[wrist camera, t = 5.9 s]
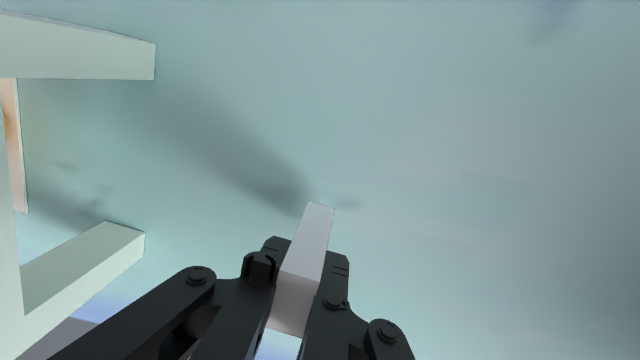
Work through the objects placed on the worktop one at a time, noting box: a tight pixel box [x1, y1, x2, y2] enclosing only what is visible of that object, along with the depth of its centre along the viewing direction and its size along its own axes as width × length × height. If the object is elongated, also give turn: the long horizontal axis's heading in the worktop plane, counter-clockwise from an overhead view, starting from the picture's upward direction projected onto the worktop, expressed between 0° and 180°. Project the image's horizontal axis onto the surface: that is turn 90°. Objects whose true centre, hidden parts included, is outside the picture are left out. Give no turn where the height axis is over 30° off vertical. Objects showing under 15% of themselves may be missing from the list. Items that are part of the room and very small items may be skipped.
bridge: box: [0, 9, 156, 360], centre depth 15 cm, size 3×14×9 cm, turn 166°
